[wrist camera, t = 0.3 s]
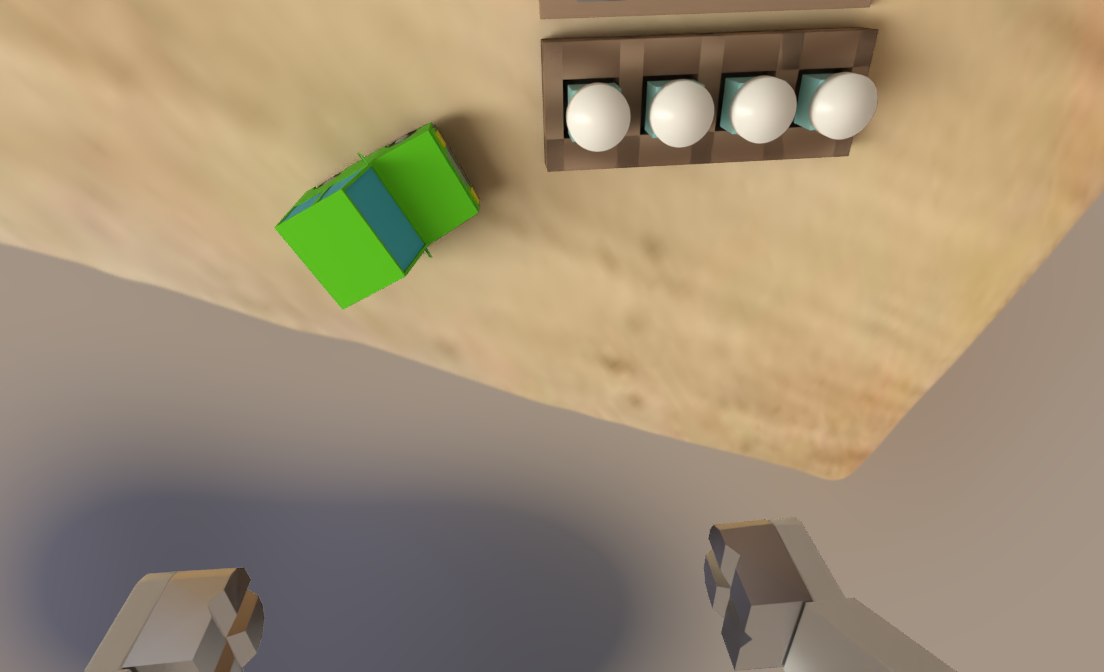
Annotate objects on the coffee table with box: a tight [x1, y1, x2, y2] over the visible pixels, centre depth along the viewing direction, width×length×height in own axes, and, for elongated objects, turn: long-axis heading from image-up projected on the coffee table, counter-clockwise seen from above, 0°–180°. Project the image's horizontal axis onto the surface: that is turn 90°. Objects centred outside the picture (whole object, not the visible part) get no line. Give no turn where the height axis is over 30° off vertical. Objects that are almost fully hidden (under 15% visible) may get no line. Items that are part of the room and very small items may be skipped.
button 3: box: [720, 75, 797, 143], centre depth 47 cm, size 5×5×4 cm
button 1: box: [566, 83, 631, 152], centre depth 46 cm, size 5×5×4 cm
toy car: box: [274, 122, 479, 309], centre depth 49 cm, size 10×13×10 cm
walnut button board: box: [541, 27, 878, 172], centre depth 50 cm, size 10×27×3 cm, turn 92°
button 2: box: [645, 79, 714, 147], centre depth 46 cm, size 5×5×4 cm
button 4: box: [794, 72, 878, 139], centre depth 47 cm, size 5×5×4 cm
